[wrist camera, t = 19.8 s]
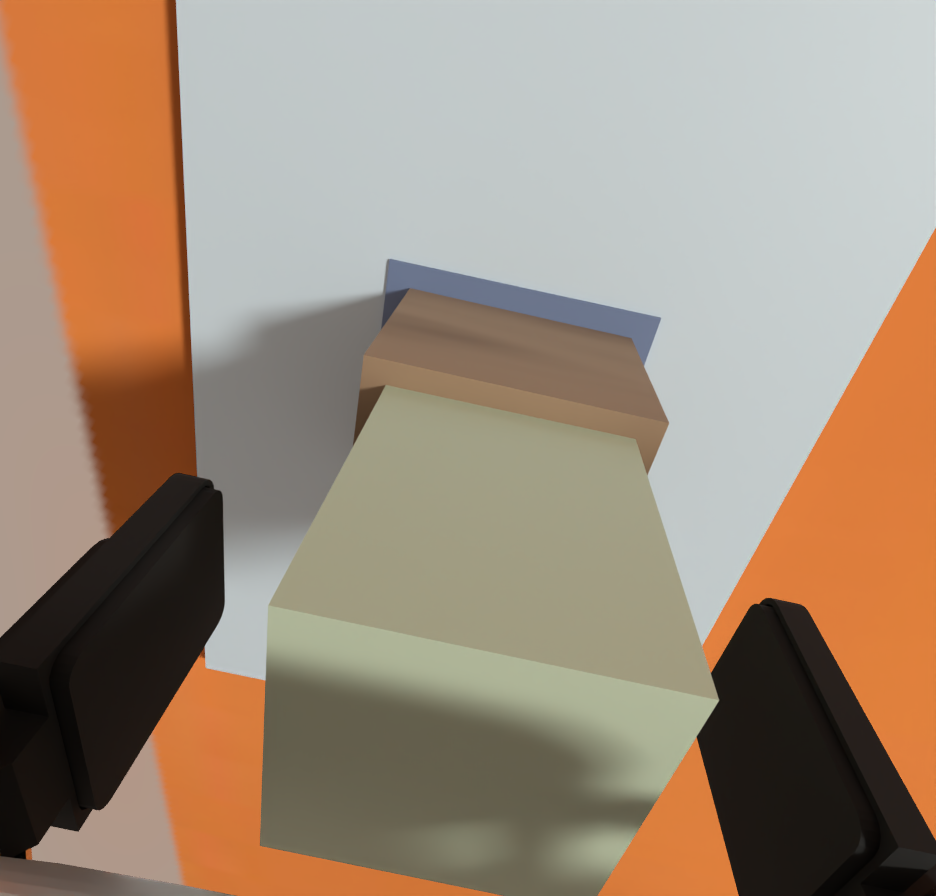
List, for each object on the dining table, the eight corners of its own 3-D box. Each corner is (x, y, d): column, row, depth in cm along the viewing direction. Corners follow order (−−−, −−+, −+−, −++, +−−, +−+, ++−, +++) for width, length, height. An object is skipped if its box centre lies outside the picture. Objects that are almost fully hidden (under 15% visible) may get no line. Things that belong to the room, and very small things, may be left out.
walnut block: (568, 516, 19) (579, 637, 14) (381, 475, 19) (336, 585, 14) (631, 338, 16) (669, 423, 11) (410, 288, 16) (363, 354, 11)
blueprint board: (637, 744, 25) (639, 759, 24) (212, 656, 25) (204, 669, 24) (1135, -170, 11) (1170, -186, 10) (175, -391, 11) (153, -421, 10)
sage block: (566, 619, 14) (586, 912, 9) (360, 575, 14) (260, 845, 9) (635, 439, 12) (719, 700, 6) (385, 384, 12) (267, 604, 6)
